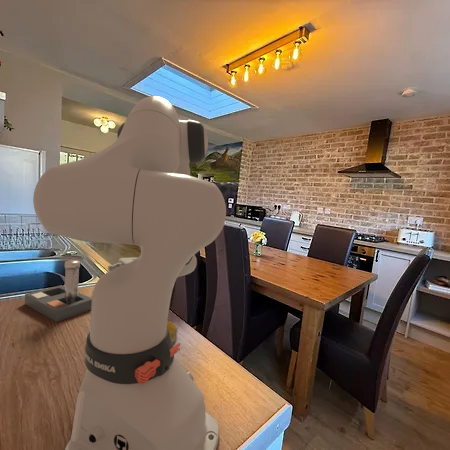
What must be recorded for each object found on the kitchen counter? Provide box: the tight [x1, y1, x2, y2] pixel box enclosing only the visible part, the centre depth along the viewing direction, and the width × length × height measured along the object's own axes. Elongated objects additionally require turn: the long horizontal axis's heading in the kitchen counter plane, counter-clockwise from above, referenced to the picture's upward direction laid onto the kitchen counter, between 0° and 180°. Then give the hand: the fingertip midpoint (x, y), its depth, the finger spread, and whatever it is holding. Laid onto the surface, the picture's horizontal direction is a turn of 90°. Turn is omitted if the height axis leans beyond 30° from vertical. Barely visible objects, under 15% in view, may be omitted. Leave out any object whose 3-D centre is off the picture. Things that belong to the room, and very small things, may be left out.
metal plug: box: [64, 259, 81, 305], centre depth 72 cm, size 4×4×14 cm
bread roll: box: [167, 320, 178, 344], centre depth 64 cm, size 8×9×4 cm
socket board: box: [24, 284, 92, 323], centre depth 74 cm, size 16×10×3 cm, turn 61°
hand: (114, 273), depth 80 cm, fingers open, 8 cm apart
